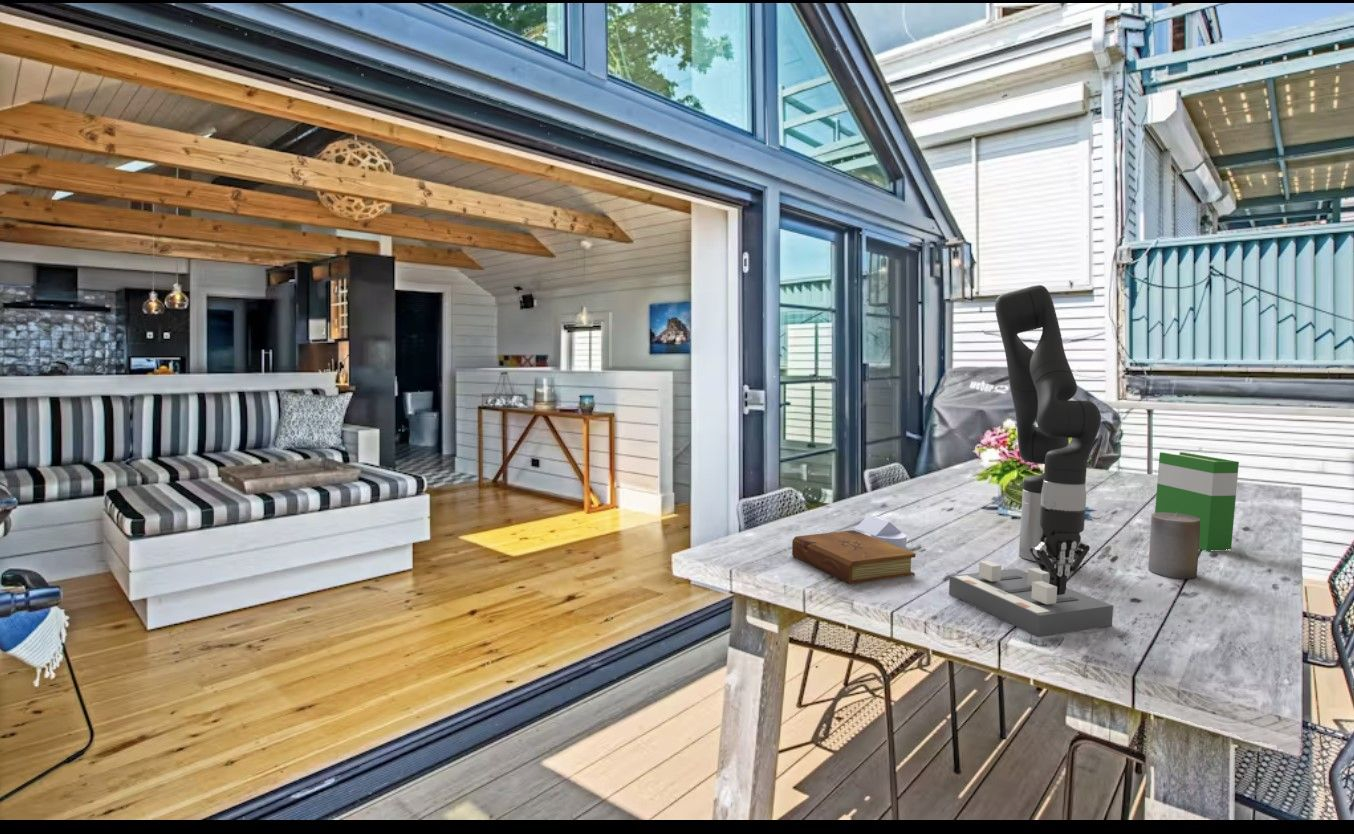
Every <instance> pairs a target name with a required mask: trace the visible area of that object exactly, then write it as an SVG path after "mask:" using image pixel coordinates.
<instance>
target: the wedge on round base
mask: <svg viewBox="0 0 1354 834" xmlns="http://www.w3.org/2000/svg"><path fill="white" fill-rule="evenodd" d="M854 529H855V530H857V531H861V532H864V533H866V534H869V535H870V537H873V538H876V539H878V540H881V541H884V542H886V543H889V544H892V545H894V546H897V547H900V548H902V549H905V550H907V538H908V537H907V534H906V533H904V532H902V531H901V530H899V528H897V526H895V525H894V524H893V523H892V522H890V521H888V520H886V519H882V518H879V517H877V516H876V517H875V516H872V515H870V514H868V515H867V516H865V517H864V519H863V520H862V521H860V522H859V523H858V524H857V526H856V527H854Z"/></svg>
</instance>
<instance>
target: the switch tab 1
mask: <svg viewBox="0 0 1354 834" xmlns="http://www.w3.org/2000/svg"><path fill="white" fill-rule="evenodd" d="M978 563H979V564H978V573H979V577H981V578H984V579H986V580H989V581H991V582H992V581H1000V580H1001V570H1002V565H1001V564H998V563H995V562H993V561H990V560H982V561H979V562H978Z"/></svg>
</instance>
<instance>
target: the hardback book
mask: <svg viewBox="0 0 1354 834" xmlns="http://www.w3.org/2000/svg"><path fill="white" fill-rule="evenodd" d="M1158 456H1159V457H1158V467H1157V469H1158V470H1157V471H1158V472H1157V483H1156V484H1157V485H1156V497H1155V505H1154V506H1155V507H1154V508H1155V509H1154V513H1162V512H1164V513H1176V512H1177V511H1178V512H1177V513H1178V514H1185V515H1190V516H1194V517H1197V518H1199V519H1200V538H1199V550H1200V549H1202V550H1201V551H1203V550H1206V551H1205V552H1207V551H1208V552H1212V551H1211V550H1226V549H1227V550H1228V549H1231V550H1232V545H1233V544H1232V543H1233V532H1234V522H1235V521H1234V520H1235V510H1236V500H1237V499H1236V497H1237V488H1238V475H1239V467H1240V465H1239V464H1240V461H1236V460H1230V459H1225V458H1218V457H1214V456H1213V457H1212V456H1206V455H1201V454H1195V453H1189V452H1182V451H1181V452H1179V453H1178V454H1174V453H1168V452H1162V451H1160V452H1159V455H1158Z"/></svg>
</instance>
